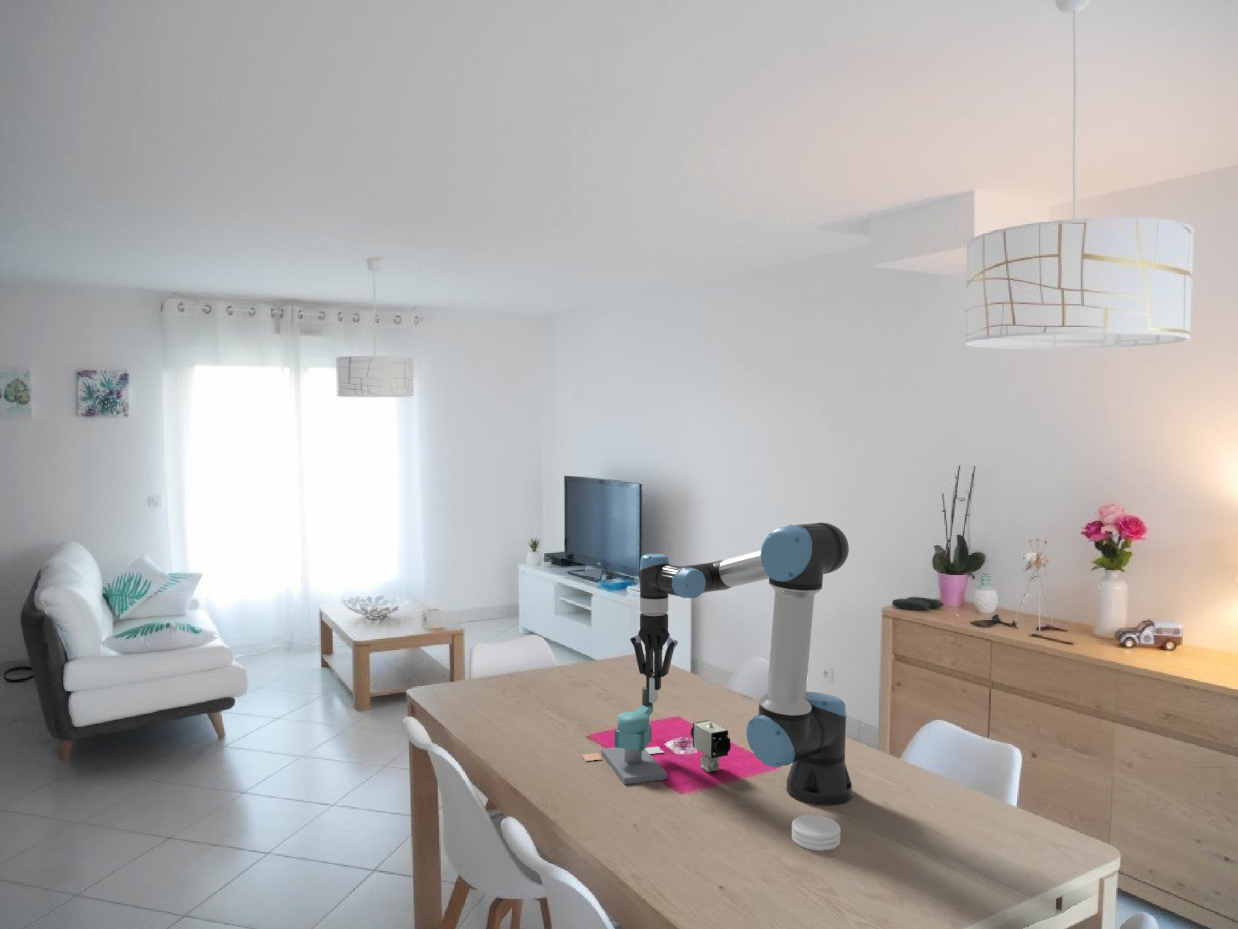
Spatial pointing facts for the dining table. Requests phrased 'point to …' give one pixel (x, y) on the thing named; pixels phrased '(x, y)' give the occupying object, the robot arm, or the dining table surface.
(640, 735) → the crank handle
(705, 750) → the pneumatic valve
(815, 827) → the coaster
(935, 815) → the dining table surface
